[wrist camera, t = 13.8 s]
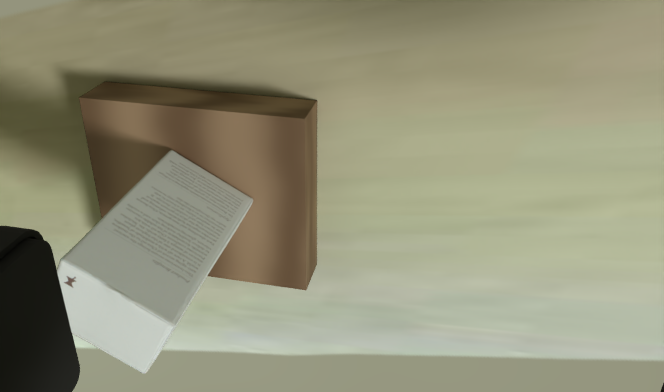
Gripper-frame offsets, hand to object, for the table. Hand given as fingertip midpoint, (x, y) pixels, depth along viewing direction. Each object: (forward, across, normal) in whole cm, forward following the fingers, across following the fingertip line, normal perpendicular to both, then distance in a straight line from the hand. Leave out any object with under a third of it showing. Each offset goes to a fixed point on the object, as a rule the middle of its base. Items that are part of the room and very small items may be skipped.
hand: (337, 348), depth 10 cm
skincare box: (+26, +14, +13) cm, 32 cm away
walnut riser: (+28, +14, +13) cm, 34 cm away
